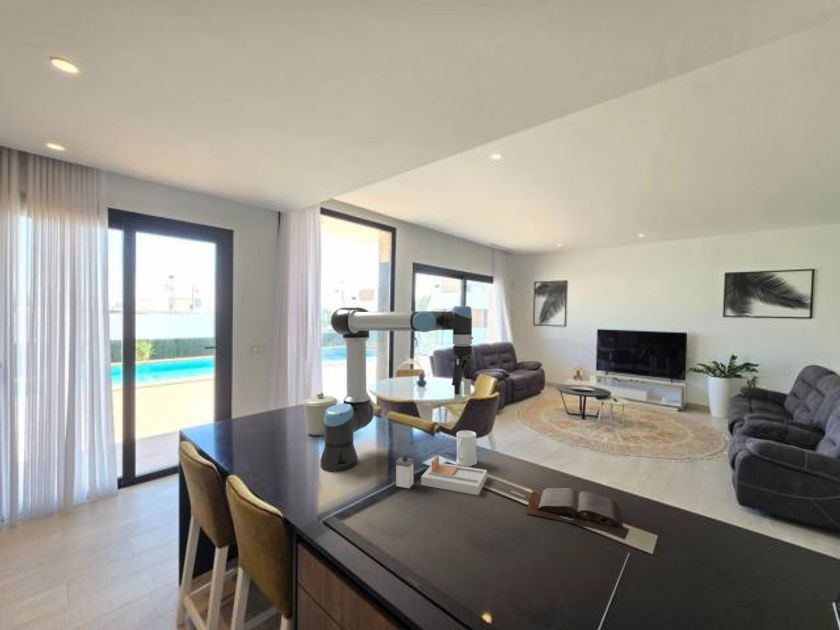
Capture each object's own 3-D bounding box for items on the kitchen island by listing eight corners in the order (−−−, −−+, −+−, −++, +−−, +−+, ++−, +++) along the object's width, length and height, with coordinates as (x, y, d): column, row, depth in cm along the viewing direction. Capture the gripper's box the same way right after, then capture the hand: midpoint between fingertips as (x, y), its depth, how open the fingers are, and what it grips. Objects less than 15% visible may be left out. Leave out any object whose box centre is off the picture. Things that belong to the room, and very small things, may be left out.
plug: (396, 486, 133) (396, 455, 132) (401, 481, 136) (400, 451, 136) (409, 488, 131) (408, 457, 131) (413, 483, 134) (413, 453, 134)
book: (630, 539, 102) (630, 523, 102) (525, 515, 113) (525, 500, 113) (623, 509, 120) (623, 495, 120) (533, 490, 131) (533, 478, 131)
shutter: (431, 473, 136) (430, 461, 136) (437, 466, 142) (437, 455, 142) (451, 476, 133) (451, 465, 133) (457, 469, 139) (457, 458, 139)
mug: (465, 471, 145) (464, 440, 144) (447, 465, 150) (447, 436, 150) (480, 461, 154) (480, 432, 153) (463, 456, 159) (463, 428, 159)
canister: (333, 438, 184) (333, 396, 184) (297, 438, 184) (297, 396, 184) (341, 427, 202) (341, 388, 202) (308, 427, 202) (308, 388, 202)
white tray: (421, 484, 133) (421, 474, 133) (434, 469, 146) (434, 460, 146) (478, 495, 125) (478, 484, 125) (487, 478, 138) (487, 468, 138)
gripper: (463, 348, 133) (463, 407, 133) (479, 342, 156) (479, 392, 156) (443, 347, 136) (443, 405, 136) (461, 342, 159) (462, 391, 159)
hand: (462, 398), depth 146 cm, fingers open, 13 cm apart
